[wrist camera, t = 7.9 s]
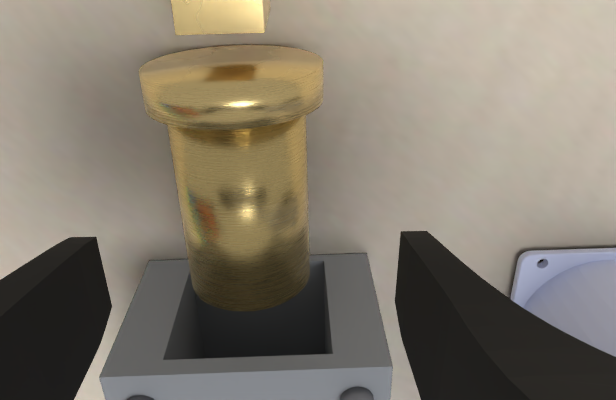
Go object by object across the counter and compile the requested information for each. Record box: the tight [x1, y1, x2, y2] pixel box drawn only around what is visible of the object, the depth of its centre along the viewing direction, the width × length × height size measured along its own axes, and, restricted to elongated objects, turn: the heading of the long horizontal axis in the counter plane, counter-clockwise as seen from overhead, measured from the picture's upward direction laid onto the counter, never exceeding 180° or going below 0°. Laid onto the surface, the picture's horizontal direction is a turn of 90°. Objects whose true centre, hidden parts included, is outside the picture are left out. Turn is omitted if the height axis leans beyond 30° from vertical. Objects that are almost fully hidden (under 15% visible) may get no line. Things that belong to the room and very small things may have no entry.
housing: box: [99, 253, 393, 400], centre depth 23 cm, size 10×10×7 cm
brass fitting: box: [139, 0, 323, 312], centre depth 17 cm, size 14×6×6 cm, turn 1°
